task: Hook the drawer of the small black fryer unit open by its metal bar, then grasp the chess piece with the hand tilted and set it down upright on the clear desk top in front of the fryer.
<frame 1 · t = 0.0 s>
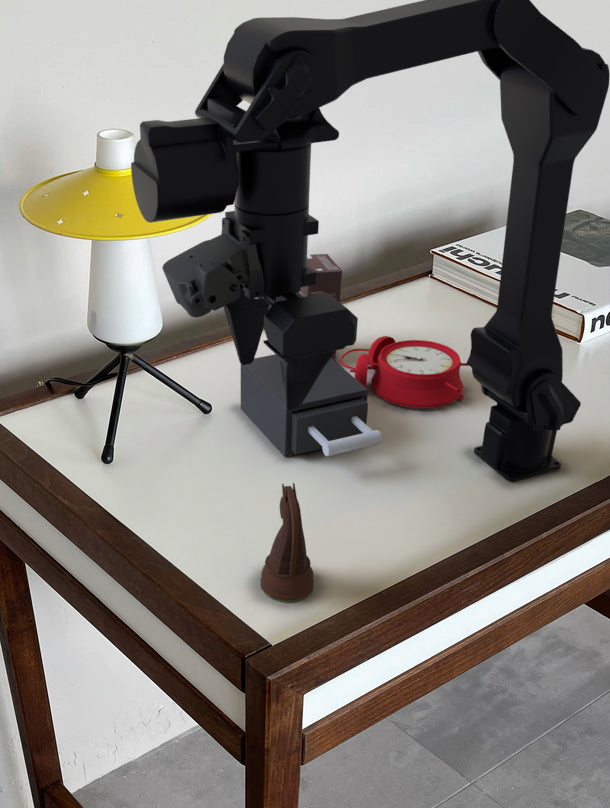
hand: (268, 385, 86), 15 cm above the table, tool pointing down, fingers open, 9 cm apart
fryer: (300, 423, 110), on the table
chess piece: (287, 589, 87), on the table
alarm clock: (402, 387, 118), on the table
box: (313, 358, 124), on the table
drawer: (319, 416, 106), point 3 cm above the table, slide at 0.0 cm, touching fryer
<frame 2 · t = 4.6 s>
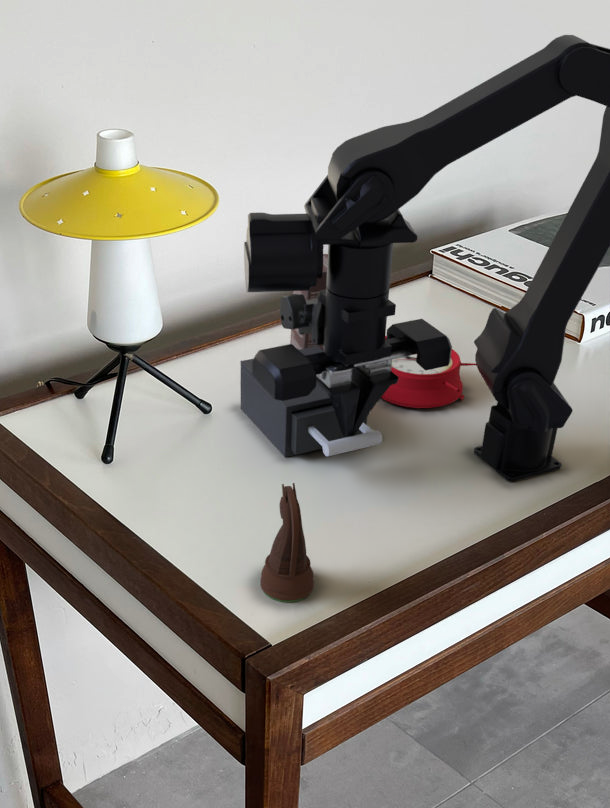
hand: (347, 435, 101), 4 cm above the table, tool pointing down, fingers closed, pressing on drawer
drawer: (319, 416, 106), point 3 cm above the table, slide at 0.0 cm, touching gripper
everything else where it was.
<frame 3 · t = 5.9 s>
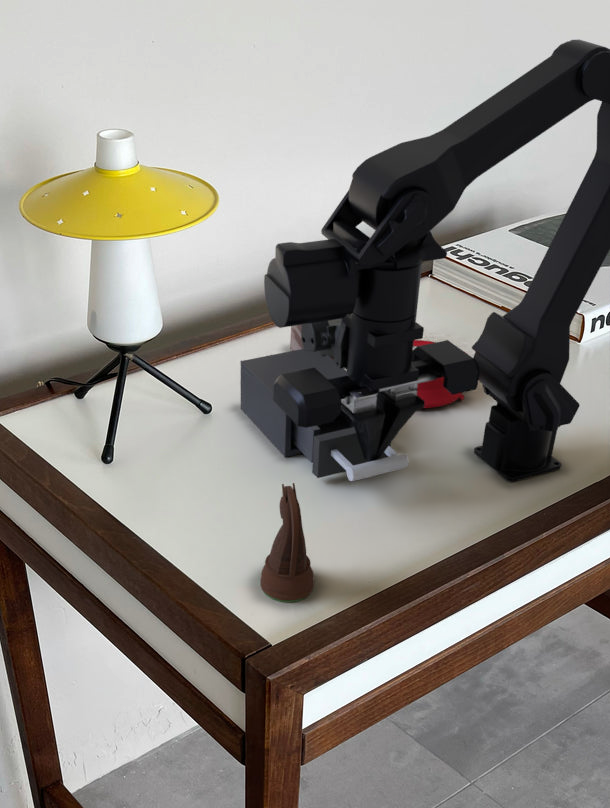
hand: (370, 461, 97), 4 cm above the table, tool pointing down, fingers closed, pressing on drawer
drawer: (342, 438, 102), point 3 cm above the table, slide at 4.9 cm, touching gripper
everything else where it was.
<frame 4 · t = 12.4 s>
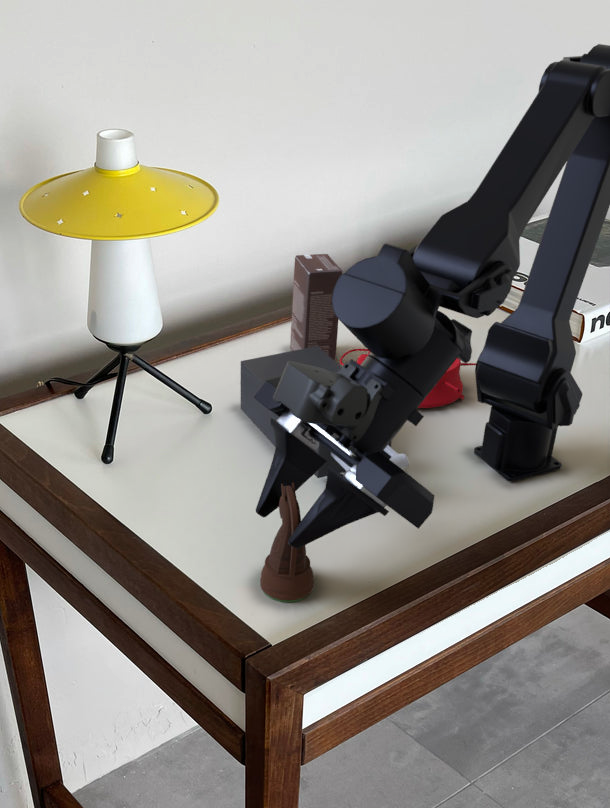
hand: (275, 530, 83), 7 cm above the table, tool tilted 45°, fingers closed on chess piece, 5 cm apart
chess piece: (287, 589, 87), on the table, touching gripper
drawer: (342, 438, 102), point 3 cm above the table, slide at 4.9 cm
everything else where it was.
when the fingers open (7 cm above the table, at t = 17.6 s): chess piece stays where it is, on the table.
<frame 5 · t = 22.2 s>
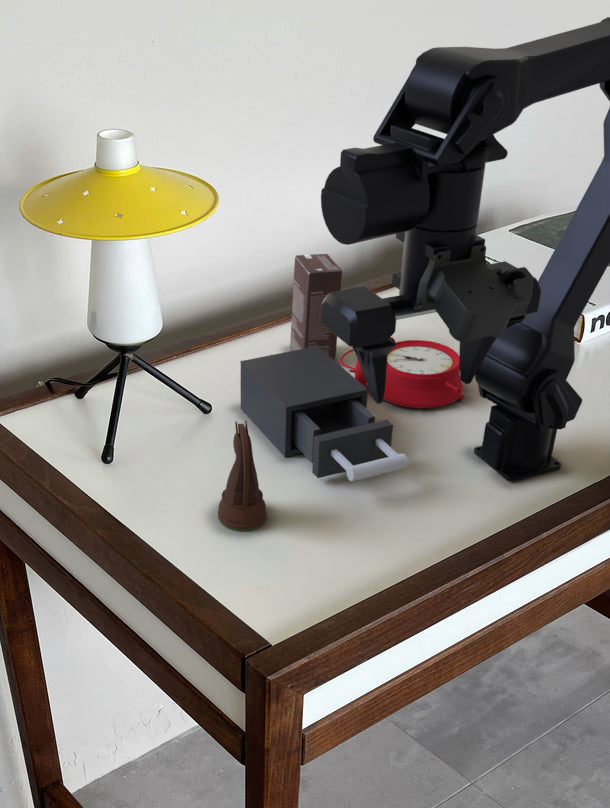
hand: (422, 391, 91), 12 cm above the table, tool pointing down, fingers open, 9 cm apart
chess piece: (242, 520, 96), on the table
everything else where it was.
at the end: drawer slide at 4.9 cm; chess piece 0.1 cm from the target spot, on the table; chess piece tilted 0° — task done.
